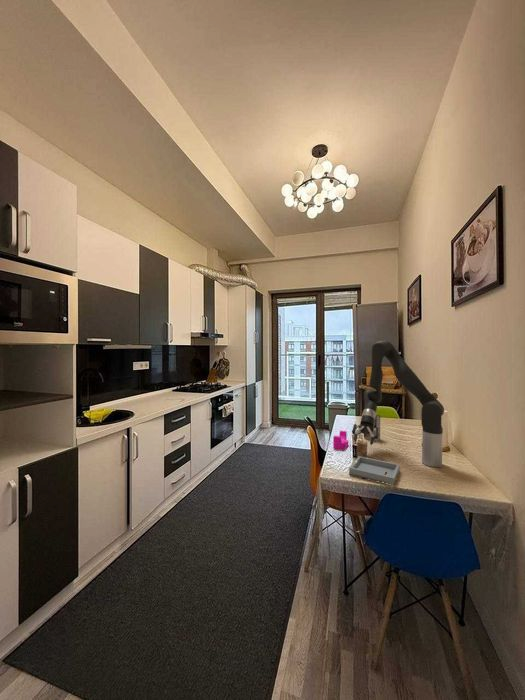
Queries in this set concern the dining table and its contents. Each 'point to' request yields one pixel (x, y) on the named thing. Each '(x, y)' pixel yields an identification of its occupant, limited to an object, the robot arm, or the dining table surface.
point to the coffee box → (376, 424)
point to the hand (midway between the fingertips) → (363, 442)
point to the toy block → (340, 441)
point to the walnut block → (362, 449)
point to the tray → (375, 470)
